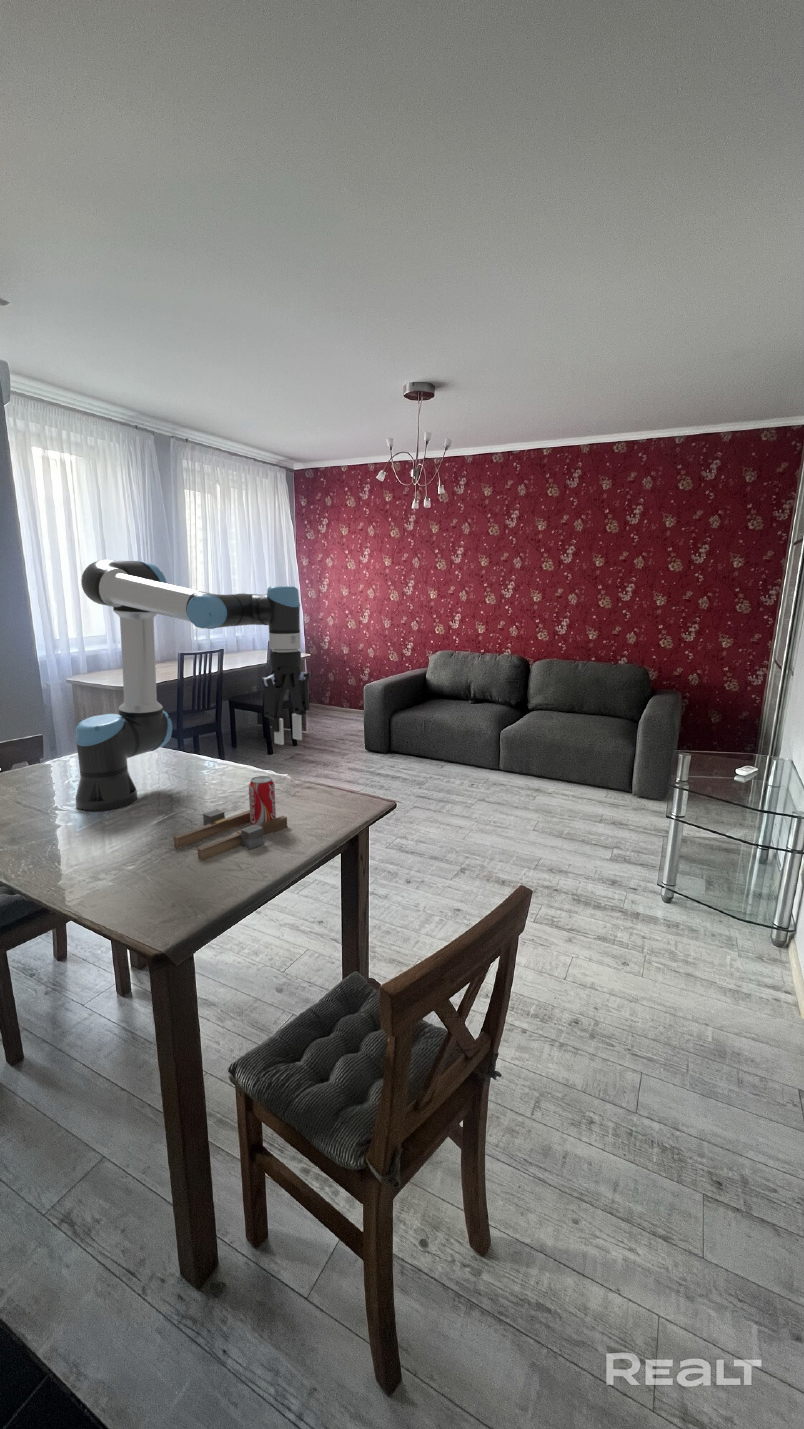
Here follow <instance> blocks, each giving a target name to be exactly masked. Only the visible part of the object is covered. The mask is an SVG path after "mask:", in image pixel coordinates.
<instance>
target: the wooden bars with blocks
mask: <svg viewBox="0 0 804 1429" xmlns="http://www.w3.org/2000/svg"><path fill="white" fill-rule="evenodd" d="M202 818H203V819H202V820H203V826H200V827H195V828H194V829H191V830H189V831H186V832H182V833H180V834H179V833H178V834H177V835H174V836H173V845H174V846H173V847H174V848H176V849H180V848H183V847H186V846H188V845H191V844H193V843H196V842H199V841H202V840H205V839H207V838H210V837H213V836H216V835H218V834H222V833H224V832H227V831H229V830H232V829H235V828H237V827H241V826H243V825H246V824H249V823H250V809H248V810H246V811H243V812H239V813H237V814H234V815H231V816H228V817H225V811H223V810H220V809H218V808H217V809H213V810H210V811H207V812H205V813H202ZM287 827H288V817H287V816H284V815H281V816H279V817H276V819H273V820H270V821H268V822H265V823H262V824H260V825H249V826H247V827H244V828H242V829H240V830H238V831H237V832H236V833H233V834H230V835H228V836H226V837H223V838H220V839H218V840H215V841H213V842H209V843H207V844H205V845H202V846H199V847H197V849H196V850H197V859H198V860H200V861H205V860H207V859H209V858H212V857H214V856H217V855H220V854H222V853H225V852H227V851H230V850H232V849H235V848H237V847H240V846H241V847H243V848H245V849H248V850H253V849H254V848H257V847H259V846H262V845H265V844H264V843H265V838H264V837H265V836H267V835H269V834H272V833H275V832H277V831H279V830H283V829H285V828H287Z"/></svg>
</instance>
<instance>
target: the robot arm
mask: <svg viewBox="0 0 804 1429" xmlns="http://www.w3.org/2000/svg"><path fill="white" fill-rule="evenodd" d="M80 580H81V584H80V585H81V588H82V590H83V592H84V594H85V595H86V597H87V598H88V599H90V600H91V601H92V602H94V603H96V604H98V605H102V606H106V607H107V606H108V607H111V608H112V609H113V610H112V611H113V612H114V613H115V614H116V615H117V616H118V617H119V625H120V626H119V627H120V628H119V629H120V646H121V647H120V648H121V663H122V664H121V665H122V667H121V668H122V685H123V687H122V688H123V703H121V704H120V705H119V707H118V713H105V714H104V713H103V714H101V715H99V714H98V715H94V716H90V717H87V718H85V719H83V720H81V721H80V722H78V724H77V725H76V728H75V740H74V741H75V743H76V748H77V749H76V750H77V758H78V767H79V768H78V769H79V775H80V778H79V782H78V787H77V790H76V795H75V805H76V807H78V808H77V809H78V810H82V809H83V810H82V811H87V812H88V811H91V812H100V811H108V810H115V809H118V808H123V807H125V806H127V805H131V804H132V803H134V802H135V801H136V800H137V798H138V790H137V788H136V785H135V784H134V782H133V779H132V777H131V775H130V773H129V770H128V759H129V758H132V757H136V756H139V755H142V754H145V753H146V754H147V753H149V752H154V751H156V750H158V749H159V748H162V747H164V746H165V745H167V743H168V742H169V741H170V739H171V737H172V733H173V723H172V719H171V718H170V717H169V714H168V712H167V711H165V710H164V709H163V708H164V707H163V705H162V704H161V703H159V701H158V700H157V696H158V695H157V674H156V673H157V671H156V650H155V648H156V646H155V624H154V621H155V620H154V619H155V617H156V616H157V615H162V616H166V617H170V618H174V619H179V620H183V621H186V622H187V621H188V622H190V623H192V625H193V626H195V628H198V629H206V630H207V629H208V630H212V629H217V628H229V627H238V626H253V625H255V626H257V625H258V626H268V638H269V639H268V640H269V642H268V643H269V649H270V650H271V651H270V652H269V664H270V667H271V672H270V675H268V676H267V677H266V676H265V677H264V676H263V677H262V678H261V683H262V686H263V708H264V709H263V711H264V713H263V714H264V717H266V718H270V720H271V731H272V732H273V735H274V737H273V739H274V741H273V742H274V744H277V745H281V746H283V745H284V744H285V738H284V735H285V734H284V718H281V715H282V710H283V704H284V699H285V698H284V697H285V693H286V692H287V690H288V691H289V695H290V699H291V700H290V701H291V704H292V707H293V708H292V709H293V712H294V713H292V714H291V717H292V718H291V721H292V722H291V724H292V739H294V740H298V741H302V740H303V725H304V715H306V714H307V712H308V711H310V694H309V693H310V692H309V691H310V690H309V679H310V673H309V672H305V671H301V668H300V666H301V664H302V652H301V651H300V650H299V649H301V628H300V625H301V624H300V619H301V618H300V610H301V609H300V607H301V603H300V596H299V595H300V594H299V589H298V588H297V587H295V586H276V585H275V586H268V587H267V592H266V593H265V594H259V593H258V594H256V593H244V592H243V593H232V594H230V593H229V594H217V593H211V592H207V591H202V590H197V589H193V588H188V587H184V586H179V585H174V584H170V583H168V582H167V579H166V577H165V575H164V573H163V572H162V571H161V570H160V568H159V567H158V566H157V565H155V564H153V563H151V562H148V561H140V560H115V559H114V560H113V559H112V560H111V559H99V560H97V561H94V562H92V563H90V564H89V565H88V566H87V567H86V568H85V569H84V570H83V572H82V574H81V579H80Z"/></svg>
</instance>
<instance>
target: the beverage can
mask: <svg viewBox="0 0 804 1429" xmlns="http://www.w3.org/2000/svg"><path fill="white" fill-rule="evenodd" d="M275 789H276V787H275V783H274V780H273V778H272V777H271V776H269V775H268V776H267V775H260V776H255V777H252V778H251V779H250V782H249V784H248V801H249V802H248V803H249V810H250V822H249V823H250V826H252V825H260V824H262V823H265V822H268V821H270V820H273V819H276V818H277V813H276V811H277V810H276V790H275Z"/></svg>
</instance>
